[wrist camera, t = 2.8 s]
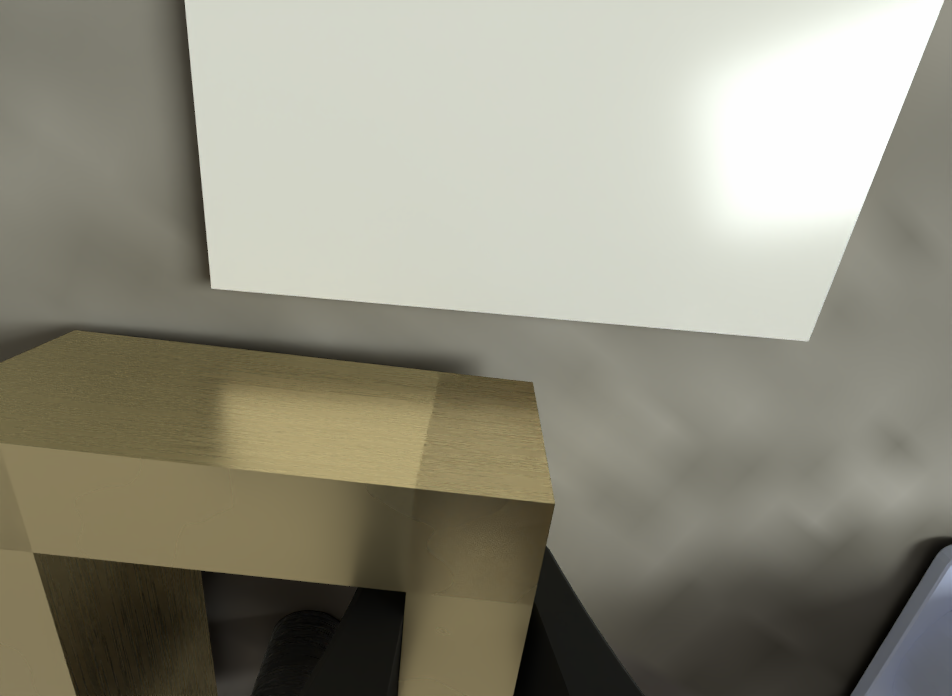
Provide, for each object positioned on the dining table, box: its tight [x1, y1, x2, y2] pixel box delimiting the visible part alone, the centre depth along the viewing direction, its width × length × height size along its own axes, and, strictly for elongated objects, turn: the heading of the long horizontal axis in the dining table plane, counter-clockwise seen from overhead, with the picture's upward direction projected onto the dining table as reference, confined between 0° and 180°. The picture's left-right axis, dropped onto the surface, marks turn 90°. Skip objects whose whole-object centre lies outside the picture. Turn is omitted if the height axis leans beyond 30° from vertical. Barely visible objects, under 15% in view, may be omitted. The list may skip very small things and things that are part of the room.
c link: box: [0, 330, 555, 696], centre depth 10 cm, size 9×11×4 cm
